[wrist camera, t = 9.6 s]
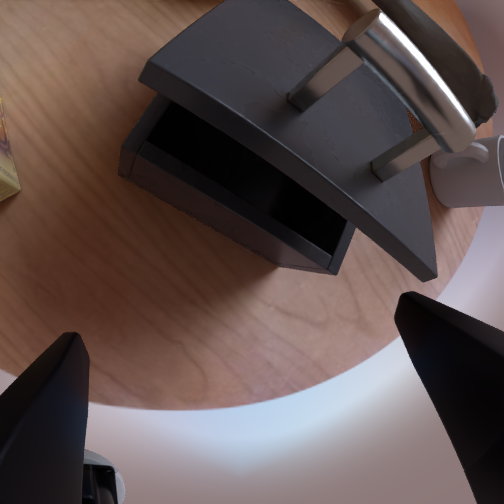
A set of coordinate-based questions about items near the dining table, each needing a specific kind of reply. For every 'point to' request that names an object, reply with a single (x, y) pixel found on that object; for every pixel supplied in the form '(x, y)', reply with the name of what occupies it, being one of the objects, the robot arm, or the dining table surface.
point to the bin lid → (323, 110)
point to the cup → (470, 174)
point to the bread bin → (232, 189)
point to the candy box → (6, 163)
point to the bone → (445, 58)
